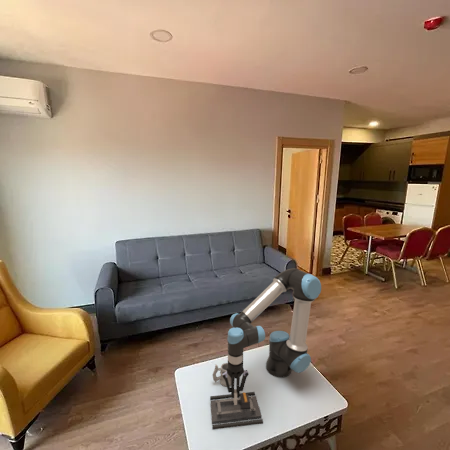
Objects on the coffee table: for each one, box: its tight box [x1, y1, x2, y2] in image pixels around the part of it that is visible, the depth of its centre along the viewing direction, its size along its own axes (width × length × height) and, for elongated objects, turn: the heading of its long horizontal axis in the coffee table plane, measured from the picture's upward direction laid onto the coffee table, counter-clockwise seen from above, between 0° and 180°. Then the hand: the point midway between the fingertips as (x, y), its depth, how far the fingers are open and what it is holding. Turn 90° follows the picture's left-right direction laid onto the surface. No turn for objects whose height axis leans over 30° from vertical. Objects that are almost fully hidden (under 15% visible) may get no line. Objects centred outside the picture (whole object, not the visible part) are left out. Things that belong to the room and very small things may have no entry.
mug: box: [212, 362, 231, 388], centre depth 147 cm, size 8×12×12 cm, turn 101°
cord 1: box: [209, 391, 256, 401], centre depth 138 cm, size 24×1×1 cm, turn 97°
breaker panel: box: [210, 395, 263, 425], centre depth 130 cm, size 24×12×3 cm, turn 97°
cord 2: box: [211, 418, 264, 430], centre depth 122 cm, size 24×1×1 cm, turn 97°
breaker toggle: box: [239, 391, 250, 410], centre depth 130 cm, size 4×5×6 cm
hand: (235, 402), depth 129 cm, fingers closed
